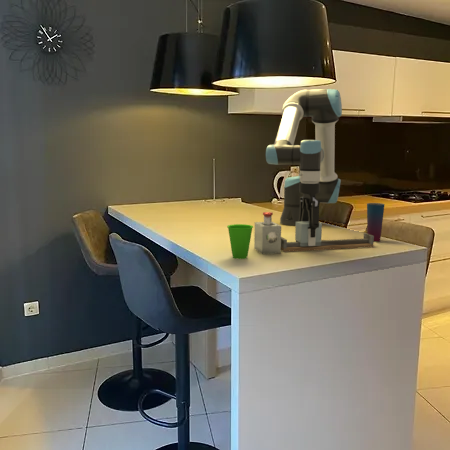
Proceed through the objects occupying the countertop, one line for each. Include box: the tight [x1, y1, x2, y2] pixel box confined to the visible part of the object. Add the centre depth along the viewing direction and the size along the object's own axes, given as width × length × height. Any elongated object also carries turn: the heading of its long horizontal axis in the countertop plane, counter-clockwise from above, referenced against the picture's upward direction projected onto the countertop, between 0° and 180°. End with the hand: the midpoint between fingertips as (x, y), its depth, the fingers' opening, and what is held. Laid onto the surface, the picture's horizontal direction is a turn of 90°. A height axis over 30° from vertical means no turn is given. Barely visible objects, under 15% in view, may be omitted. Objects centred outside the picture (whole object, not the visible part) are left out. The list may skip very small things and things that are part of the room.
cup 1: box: [227, 223, 254, 260], centre depth 173 cm, size 9×9×11 cm
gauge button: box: [262, 211, 273, 225], centre depth 183 cm, size 4×4×8 cm
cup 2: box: [366, 202, 385, 242], centre depth 202 cm, size 7×7×15 cm
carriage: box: [294, 221, 323, 247], centre depth 187 cm, size 6×8×8 cm
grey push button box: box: [253, 221, 282, 255], centre depth 183 cm, size 11×7×10 cm, turn 13°
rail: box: [281, 232, 374, 253], centre depth 189 cm, size 6×36×4 cm, turn 103°
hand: (308, 243), depth 188 cm, fingers closed on carriage, 6 cm apart
